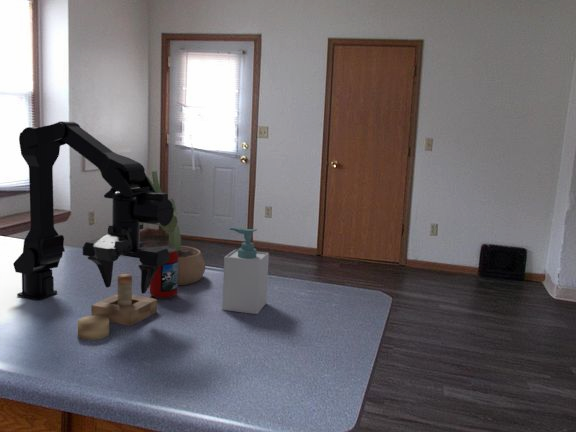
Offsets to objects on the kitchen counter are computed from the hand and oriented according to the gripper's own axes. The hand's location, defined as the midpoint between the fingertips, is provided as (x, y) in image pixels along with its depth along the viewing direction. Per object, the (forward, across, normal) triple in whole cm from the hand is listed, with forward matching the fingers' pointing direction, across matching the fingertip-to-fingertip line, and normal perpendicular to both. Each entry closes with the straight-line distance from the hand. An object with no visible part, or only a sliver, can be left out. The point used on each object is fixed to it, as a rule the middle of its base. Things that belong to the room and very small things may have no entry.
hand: (125, 290), depth 123 cm
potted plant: (+6, -7, +28) cm, 30 cm away
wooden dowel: (+6, 0, 0) cm, 6 cm away
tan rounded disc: (+6, +1, -12) cm, 13 cm away
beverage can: (+6, 0, +16) cm, 17 cm away
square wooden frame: (+6, 0, 0) cm, 6 cm away
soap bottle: (+6, +21, +18) cm, 28 cm away
